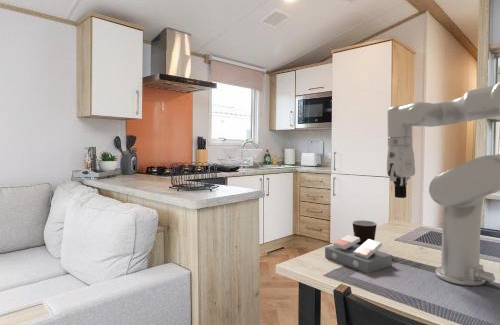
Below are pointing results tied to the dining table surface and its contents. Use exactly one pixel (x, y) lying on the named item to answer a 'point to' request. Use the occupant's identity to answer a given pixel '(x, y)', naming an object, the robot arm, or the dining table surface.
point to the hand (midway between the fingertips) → (400, 197)
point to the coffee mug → (364, 230)
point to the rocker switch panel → (359, 258)
